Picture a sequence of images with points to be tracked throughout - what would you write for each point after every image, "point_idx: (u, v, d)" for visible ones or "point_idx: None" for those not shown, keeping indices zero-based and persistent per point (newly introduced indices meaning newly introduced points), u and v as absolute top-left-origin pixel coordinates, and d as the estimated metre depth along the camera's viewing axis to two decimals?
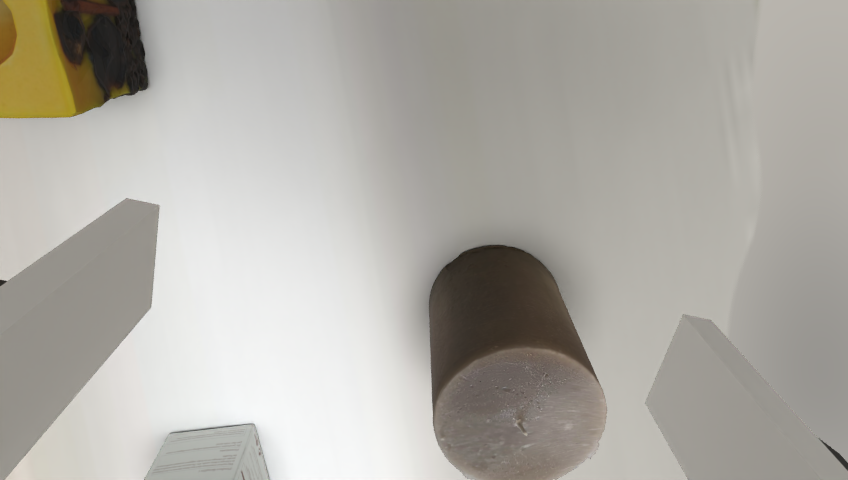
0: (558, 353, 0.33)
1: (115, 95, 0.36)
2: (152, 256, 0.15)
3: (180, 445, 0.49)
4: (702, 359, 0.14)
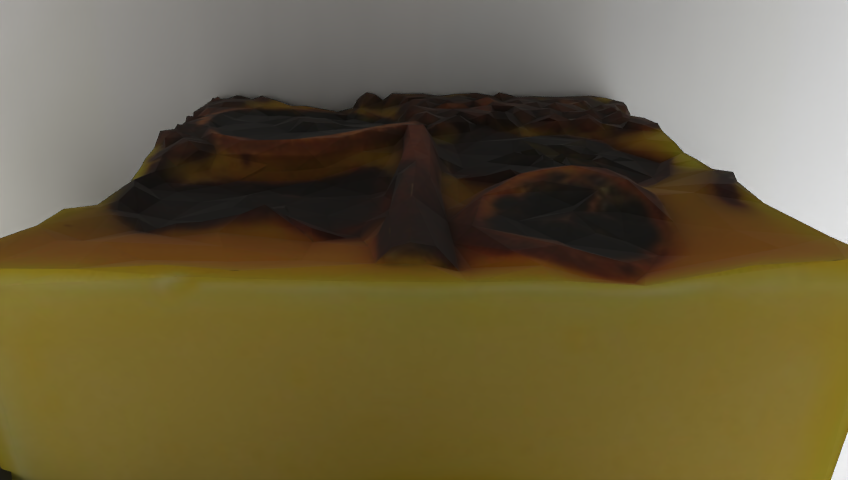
0: None
1: None
2: None
3: None
4: None
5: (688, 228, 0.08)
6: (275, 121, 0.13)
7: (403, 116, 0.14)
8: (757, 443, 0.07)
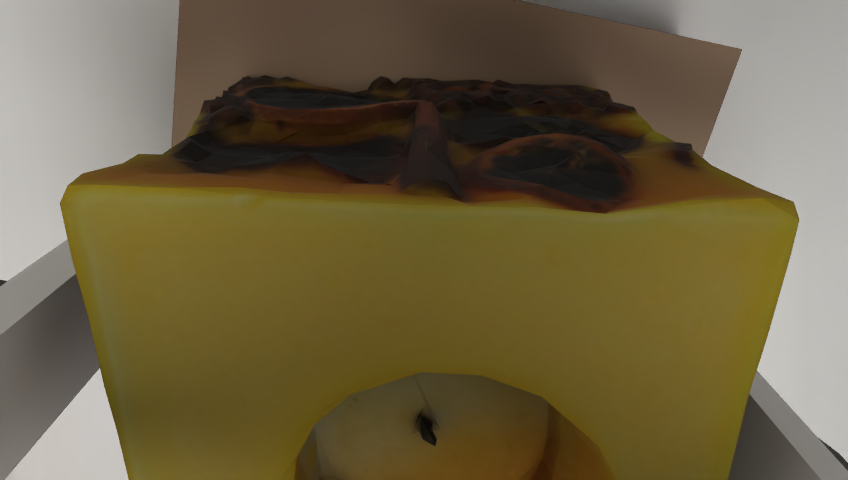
0: None
1: None
2: None
3: None
4: None
5: (647, 182, 0.10)
6: (301, 96, 0.15)
7: (413, 96, 0.15)
8: (695, 347, 0.09)
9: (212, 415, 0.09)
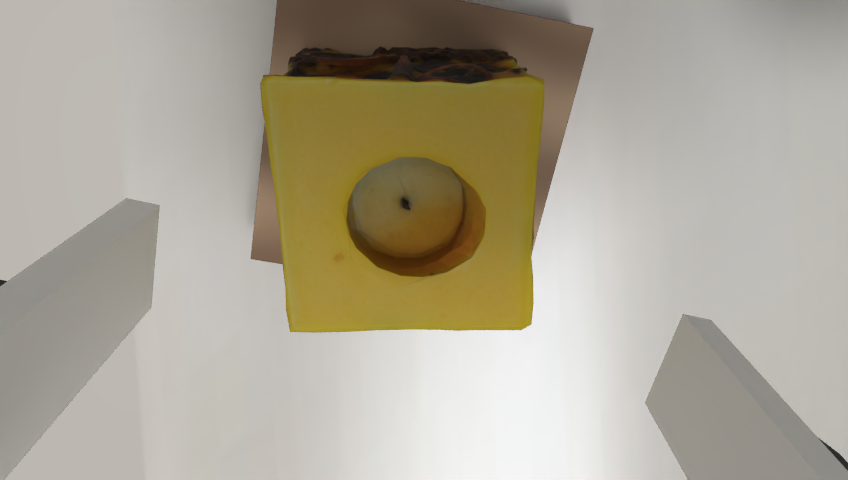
0: None
1: None
2: (152, 256, 0.15)
3: None
4: (702, 359, 0.14)
5: (496, 79, 0.23)
6: (338, 56, 0.28)
7: (398, 55, 0.28)
8: (511, 142, 0.22)
9: (313, 178, 0.22)
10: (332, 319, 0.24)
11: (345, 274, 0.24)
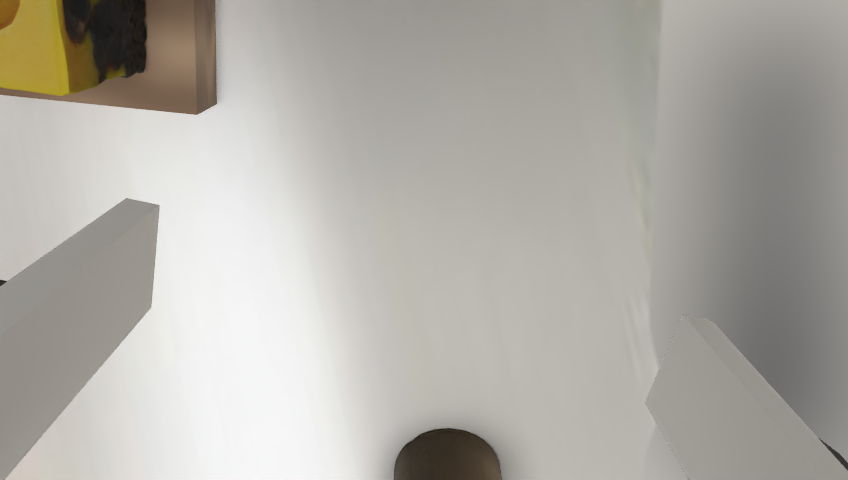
0: None
1: (111, 77, 0.35)
2: (152, 256, 0.15)
3: None
4: (702, 359, 0.14)
5: None
6: None
7: None
8: None
9: None
10: None
11: None
